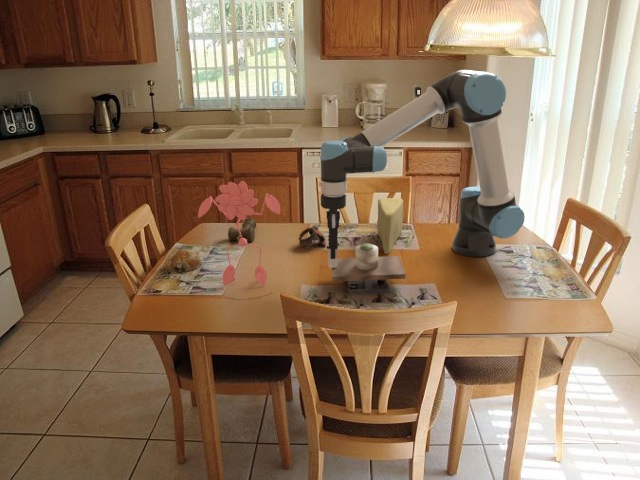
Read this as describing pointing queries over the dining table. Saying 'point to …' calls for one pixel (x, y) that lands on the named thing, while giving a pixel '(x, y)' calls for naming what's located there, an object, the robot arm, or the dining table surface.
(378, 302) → the dining table surface
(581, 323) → the dining table surface
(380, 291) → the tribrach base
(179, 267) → the bread roll
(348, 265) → the panel with push button
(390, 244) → the cheese
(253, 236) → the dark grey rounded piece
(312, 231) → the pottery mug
